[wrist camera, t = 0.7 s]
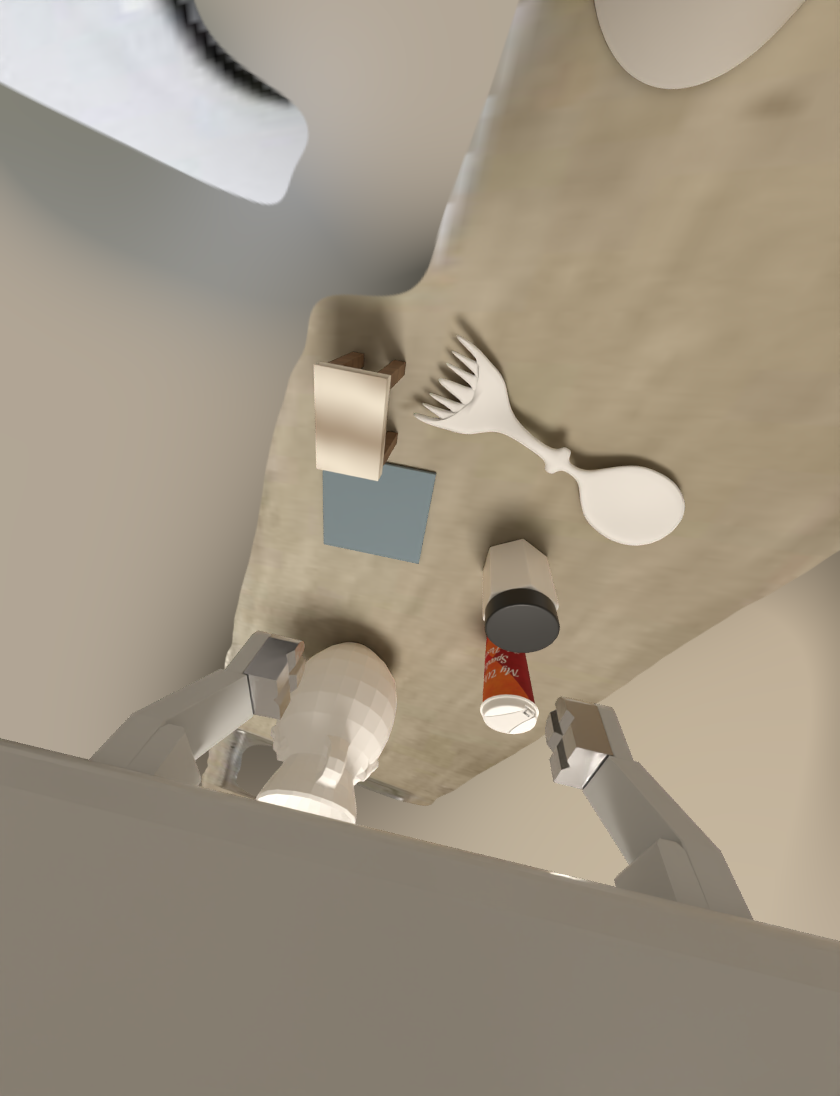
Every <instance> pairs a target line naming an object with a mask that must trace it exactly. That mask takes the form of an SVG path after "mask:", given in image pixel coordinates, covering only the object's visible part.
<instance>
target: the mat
mask: <svg viewBox="0 0 840 1096" xmlns="http://www.w3.org/2000/svg"><path fill="white" fill-rule="evenodd" d="M435 476H436V473H433V472H428V471H423V470H418V469H414V468H409V467H404V466H399V465H394V464H389V463H385V464H384V466H383V468H382V475H381V477H380V479H379V480H378V481H375V480H370V479H365V478H360V477H355V476H350V475H345V474H340V473H335V472H330V471H326V470H323V519H324V544H326V545H331V546H336V547H341V548H345V549H350V550H355V551H360V552H364V553H369V554H374V555H379V556H383V557H388V558H393V559H398V560H403V561H407V562H412V563H417V564H419V559H420V554H421V549H422V544H423V539H424V534H425V528H426V523H427V518H428V513H429V508H430V502H431V497H432V492H433V487H434V482H435Z"/></svg>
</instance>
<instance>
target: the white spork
mask: <svg viewBox="0 0 840 1096" xmlns="http://www.w3.org/2000/svg"><path fill="white" fill-rule="evenodd" d="M457 338H458V340H459V341H460V342H461V343H462V344H463V345H464V346H465V347H466V348H467V349H468V350H469V351H470V352H471V353H472V355H473V356H474V357H475V358H476V360H477V361H474V360H472V359H469V358H467V357H465V356H464V355H462V354H459V353H457V352H455V351H452V353H453V354H454V355H455V356H456V357H457V358H458V359H460V360H461V361H462V362H463V363H464V364H465V365H466V366H467V367H468V368H469V369H470V370H471V371H472V372H473V373H474V374H475V375H472V374H470V373H468V372H466V371H464V370H462V369H460V368H458V367H456V366H454V365H452V364H449V363H446V365H447V366H448V367H449V368H451V369H452V370H453V371H454V372H455V373H457V374H458V375H459V376H460V377H461V378H463V379H464V380H465V381H466V382H467V383H468V384H469V385H470V386H471V387H472V388H471V387H467V386H464V385H461V384H458V383H456V382H453V381H450V380H448V379H444V378H439V379H438V380H439V382H440V383H441V385H442V386H444V387H445V388H446V389H447V390H448V391H449V392H451V393H452V394H453V395H454V396H456V397H457V398H458V399H459V400H460V401H461V402H462V403H459V402H456V401H453V400H450V399H447V398H444V397H442V396H439V395H437V394H433V393H429V394H430V395H431V396H432V397H433V398H434V399H436V400H437V401H439V402H440V403H442V404H443V405H445V406H446V407H447V408H449V409H450V410H451V411H449V410H445V409H441V408H438V407H435V406H432V405H430V404H426V403H422V404H423V405H424V406H425V407H426V408H428V409H429V410H430V411H432V412H433V413H435V414H436V415H437V416H439V417H440V418H434V417H430V416H426V415H423V414H419V413H414V416H415V417H416V418H417V419H419V420H420V421H423V422H425V423H427V424H430V425H432V426H436V427H439V428H443V429H446V430H450V431H453V432H457V433H461V434H475V433H482V432H499V433H502V434H505V435H507V436H509V437H511V438H513V439H514V440H516V441H518V442H519V443H521V444H522V445H524V446H525V447H527V448H528V449H530V450H531V451H533V452H534V453H536V454H537V455H538V456H540V457H541V458H542V459H543V461H544V462H545V470H546V471H547V472H548V473H555V472H557V471H565V472H567V473H569V474H570V475H571V476H573V477H574V479H575V480H576V481H577V483H578V486H579V494H580V502H581V507H582V511H583V514H584V516H585V518H586V520H587V521H588V523H589V524H590V525H591V526H592V527H593V528H594V529H595V530H597V531H598V532H599V533H600V534H602V535H603V536H605V537H606V538H608V539H610V540H612V541H615V542H618V543H621V544H626V545H645V544H650V543H653V542H655V541H658V540H660V539H662V538H663V537H665V536H667V535H668V534H669V533H671V532H672V531H673V530H674V529H675V528H676V527H677V525H678V524H679V523H680V521H681V519H682V517H683V514H684V510H685V501H684V498H683V495H682V493H681V491H680V489H679V488H678V486H677V485H676V484H675V483H674V482H673V481H672V480H670V479H669V478H668V477H666V476H665V475H663V474H661V473H659V472H657V471H655V470H652V469H650V468H646V467H641V466H619V467H611V468H604V469H597V470H584V469H580V468H578V467H576V466H574V465H572V464H571V463H570V461H569V458H570V454H571V451H570V450H569V449H568V448H566V447H563V448H560V449H554V448H551V447H549V446H547V445H545V444H544V443H542V442H541V441H539V440H538V439H537V438H535V437H534V436H533V435H532V434H530V433H529V432H528V431H527V430H526V429H525V428H524V427H523V426H522V425H521V423H520V422H519V421H518V420H517V418H516V417H515V415H514V413H513V411H512V409H511V406H510V403H509V398H508V393H507V388H506V385H505V382H504V379H503V377H502V375H501V374H500V372H499V371H498V370H497V369H496V367H495V366H494V365H493V364H492V363H491V362H490V361H489V359H488V358H487V357H486V356H485V355H484V354H483V353H482V352H481V351H480V350H479V349H478V348H477V347H476V346H475V345H474V344H473V343H471V342H470V341H468V340H467V339H465V338H464V337H462V336H459V335H457Z"/></svg>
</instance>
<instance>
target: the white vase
mask: <svg viewBox="0 0 840 1096" xmlns="http://www.w3.org/2000/svg"><path fill="white" fill-rule="evenodd" d="M290 698H291V701H290V703H289V705H288V707H287V708H286V710H285V712H284V714H283V716H282V718H281V720H280V719H277V722H276V725H275V726H273V727H272V728H271V737H272V738H273V740H274V742H273V750H274V751H275V752H276V753H277V760H278V761H283V762H284V763H283V764H282V765H281V767H280V768H279V769H278V770H277V771H276V772H275V773H274V774H273V776H272V777H271V778H270V779H269V781H268V782H267V783H266V784H265V786H264V787H263V788H262V790H261V791H260V793H259V794H258V796H257V797H256V800H258V801H262V802H266V803H270V804H275V805H279V806H283V807H287V808H291V809H295V810H300V811H304V812H308V813H312V814H316V815H320V816H324V817H329V818H333V819H337V820H341V821H345V822H349V823H353V824H355V822H356V813H357V808H356V800H355V794H354V785H355V784H356V783H357V782H359V781H365V780H366V779H367V778H368V777H369V776H370V774H371V773H372V772H374V771H375V769H376V768H377V767H378V764H379V761H378V757H379V755H380V754H381V752H382V750H383V748H384V746H385V745H386V743H387V741H388V739H389V736H390V732H391V729H392V726H393V723H394V719H395V713H396V708H397V694H396V685H395V680H394V678H393V676H392V675H391V673H390V671H389V669H388V668H387V666H386V664H385V663H384V662H383V661H382V660H381V659H380V658H379V657H378V656H377V655H376V654H375V653H374V652H373V651H372V650H371V649H369V648H368V647H366V646H365V645H362V644H359V643H354V642H345V643H340V644H336V645H333V646H330V647H328V648H326V649H324V650H323V651H321V652H319V653H317V654H316V655H314V656H312V657H311V658H310V659H309V660H308V661H307V662H306V663H305V670H304V673H303V676H302V679H301V682H300V684H299V686H298V688H297V689H295V690H294V691H292V692H290Z"/></svg>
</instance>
